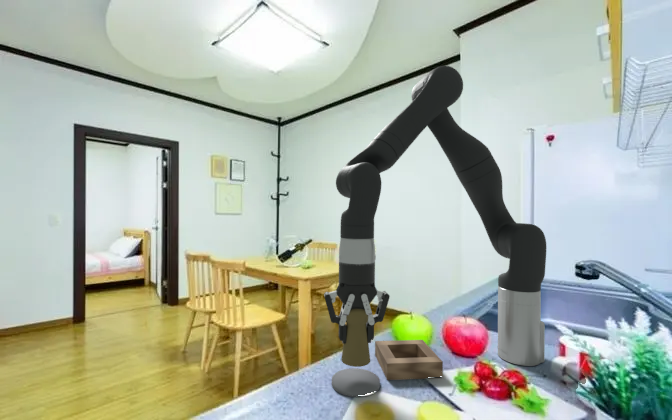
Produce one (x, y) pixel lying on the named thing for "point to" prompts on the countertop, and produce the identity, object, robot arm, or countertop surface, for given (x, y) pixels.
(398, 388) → the countertop surface
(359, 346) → the brown pawn
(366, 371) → the coaster
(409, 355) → the pocket block
